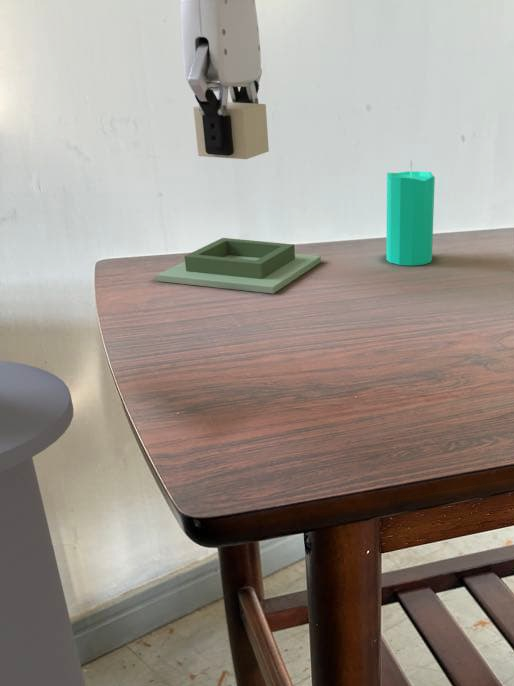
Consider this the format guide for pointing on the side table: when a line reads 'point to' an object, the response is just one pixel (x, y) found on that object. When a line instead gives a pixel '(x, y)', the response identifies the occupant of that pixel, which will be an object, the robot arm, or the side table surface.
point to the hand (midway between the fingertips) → (233, 148)
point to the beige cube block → (240, 130)
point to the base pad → (241, 266)
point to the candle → (410, 217)
